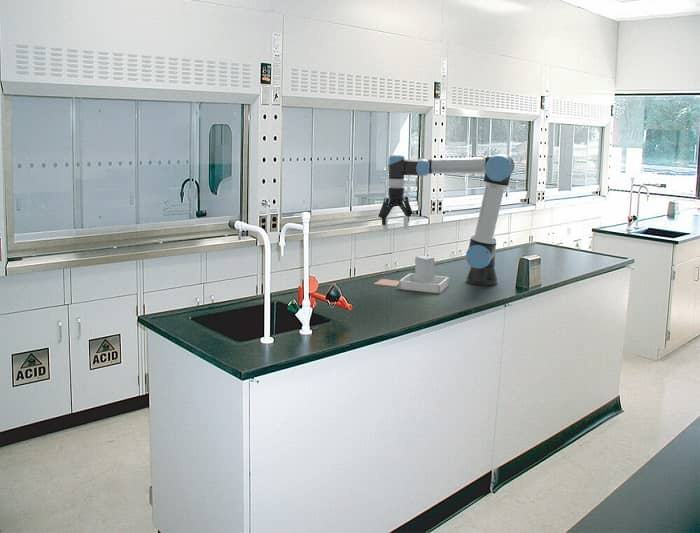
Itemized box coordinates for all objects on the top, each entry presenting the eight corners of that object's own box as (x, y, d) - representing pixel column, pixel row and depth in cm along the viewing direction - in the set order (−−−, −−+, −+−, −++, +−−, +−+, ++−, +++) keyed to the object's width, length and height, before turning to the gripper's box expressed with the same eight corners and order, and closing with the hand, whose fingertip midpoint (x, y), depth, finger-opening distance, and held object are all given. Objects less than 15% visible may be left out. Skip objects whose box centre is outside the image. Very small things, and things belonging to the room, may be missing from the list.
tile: (402, 282, 344) (402, 281, 344) (395, 287, 334) (395, 285, 334) (381, 280, 348) (381, 278, 348) (374, 284, 338) (374, 283, 338)
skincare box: (434, 288, 334) (435, 257, 331) (424, 289, 331) (426, 259, 327) (423, 284, 341) (424, 254, 338) (413, 285, 337) (414, 256, 334)
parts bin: (448, 285, 340) (449, 277, 339) (439, 293, 324) (439, 285, 323) (409, 280, 347) (410, 273, 347) (398, 288, 331) (399, 280, 330)
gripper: (410, 185, 348) (409, 227, 352) (371, 188, 333) (371, 231, 338) (420, 186, 342) (419, 229, 347) (381, 189, 327) (381, 233, 332)
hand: (395, 230), depth 342 cm, fingers open, 13 cm apart
